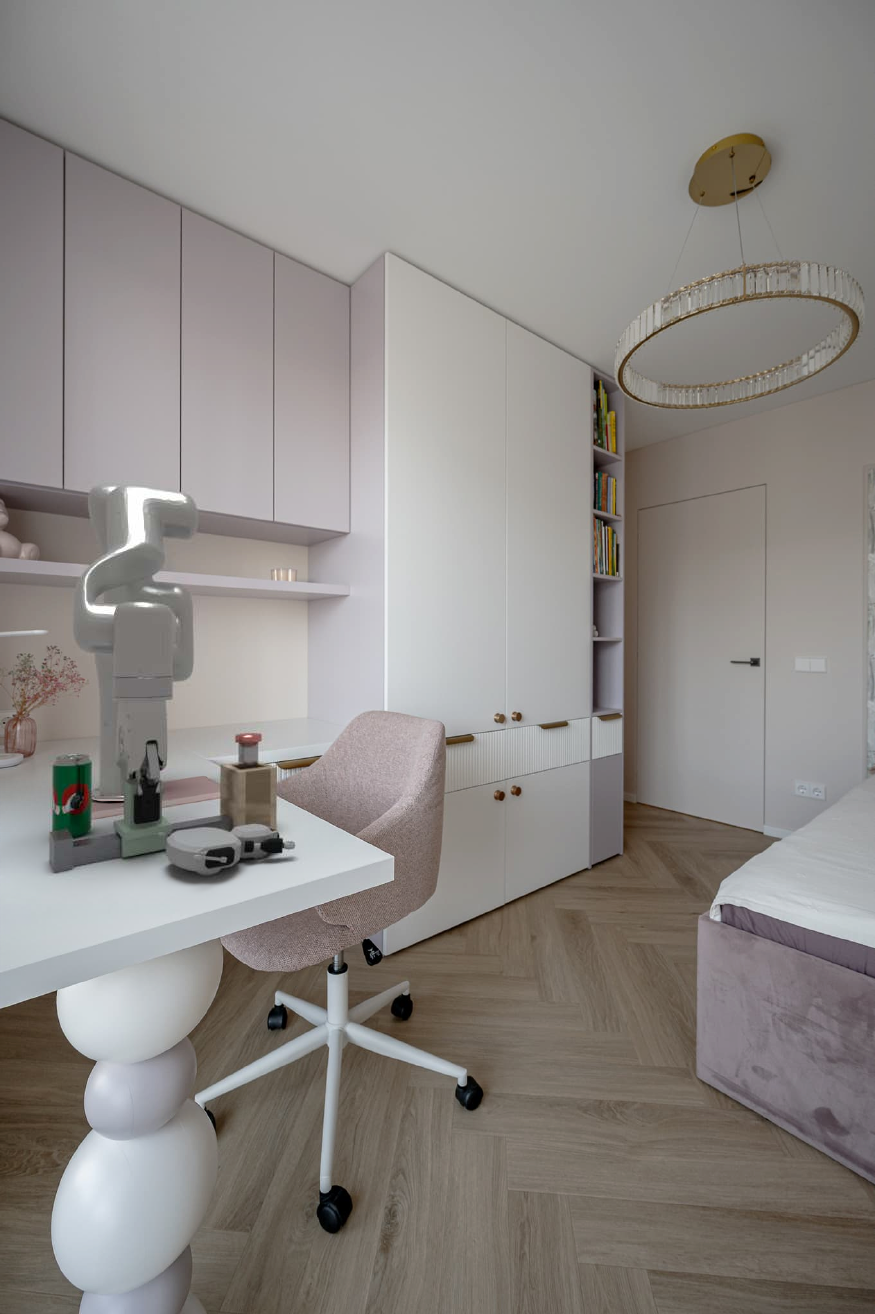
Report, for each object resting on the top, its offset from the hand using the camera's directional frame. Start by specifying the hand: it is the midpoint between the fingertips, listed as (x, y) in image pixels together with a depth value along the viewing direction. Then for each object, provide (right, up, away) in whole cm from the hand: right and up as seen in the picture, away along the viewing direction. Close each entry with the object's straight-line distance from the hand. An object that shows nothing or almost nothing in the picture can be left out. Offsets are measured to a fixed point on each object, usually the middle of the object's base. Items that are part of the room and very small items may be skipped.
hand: (142, 816), depth 80 cm
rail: (+2, -5, +1) cm, 5 cm away
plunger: (+12, +4, +10) cm, 16 cm away
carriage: (0, -4, 0) cm, 4 cm away
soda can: (-14, -5, +6) cm, 16 cm away
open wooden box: (+12, -5, +10) cm, 16 cm away
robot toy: (+14, -5, -4) cm, 15 cm away
